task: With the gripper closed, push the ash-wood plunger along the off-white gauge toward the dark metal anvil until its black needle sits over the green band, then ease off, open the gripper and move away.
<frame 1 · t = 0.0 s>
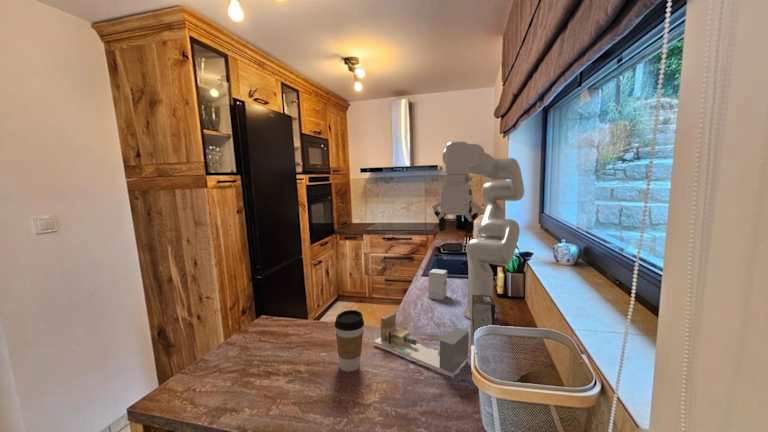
hand: (455, 231, 101), 37 cm above the worktop, tool pointing down, fingers open, 9 cm apart
plunger: (399, 331, 97), point 5 cm above the worktop, slide at 0.0 cm
coffee box: (481, 348, 98), on the worktop
supplement box: (437, 297, 145), on the worktop
coffee cup: (349, 366, 88), on the worktop
gauge: (418, 353, 94), on the worktop
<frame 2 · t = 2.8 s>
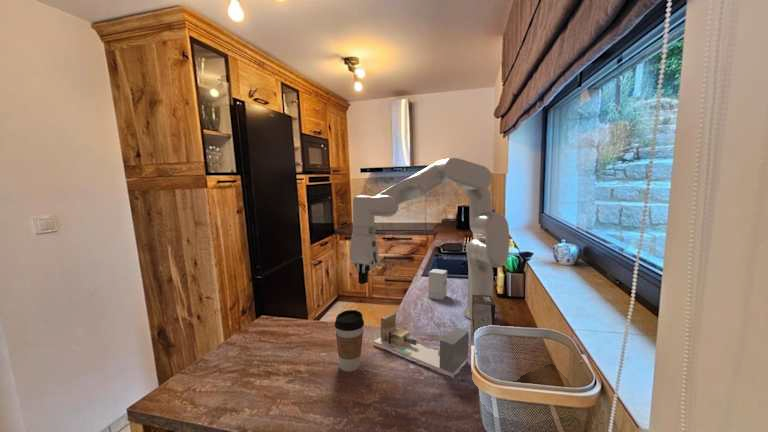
hand: (363, 282, 107), 18 cm above the worktop, tool pointing down, fingers closed
nothing on the worktop moved.
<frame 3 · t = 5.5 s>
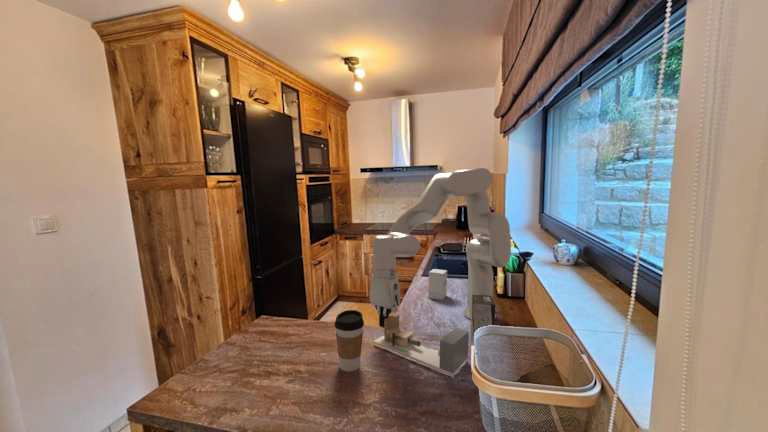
hand: (384, 325, 102), 5 cm above the worktop, tool pointing down, fingers closed
plunger: (403, 332, 97), point 5 cm above the worktop, slide at 1.5 cm, touching gripper
everything else where it was.
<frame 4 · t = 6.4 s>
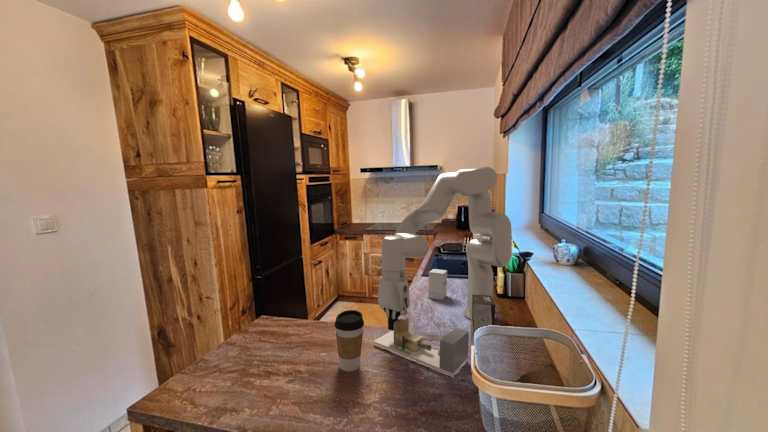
hand: (392, 328, 100), 5 cm above the worktop, tool pointing down, fingers closed
plunger: (413, 336, 94), point 5 cm above the worktop, slide at 5.3 cm, touching gripper
everything else where it was.
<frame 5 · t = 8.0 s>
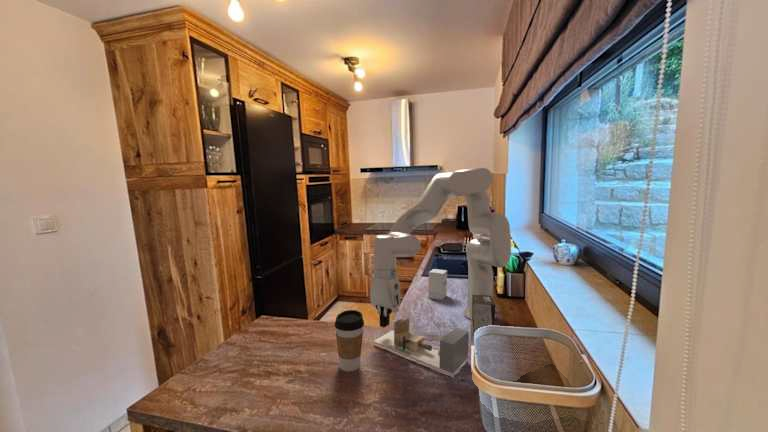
hand: (384, 325, 102), 5 cm above the worktop, tool pointing down, fingers closed
plunger: (413, 336, 94), point 5 cm above the worktop, slide at 5.4 cm
everything else where it was.
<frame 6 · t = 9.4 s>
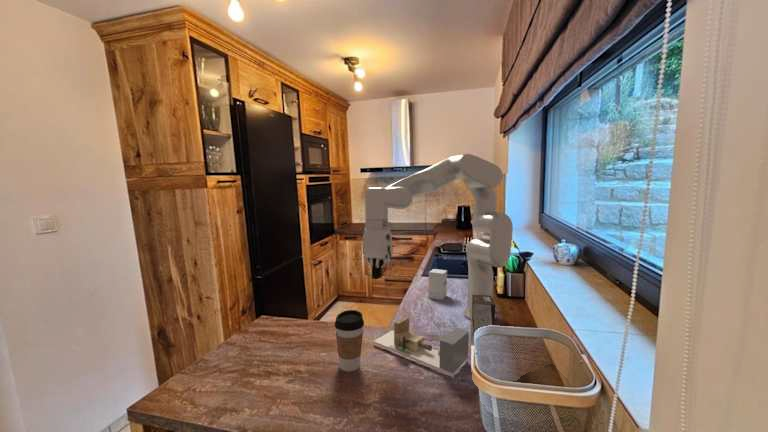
hand: (376, 277, 103), 21 cm above the worktop, tool pointing down, fingers closed
nothing on the worktop moved.
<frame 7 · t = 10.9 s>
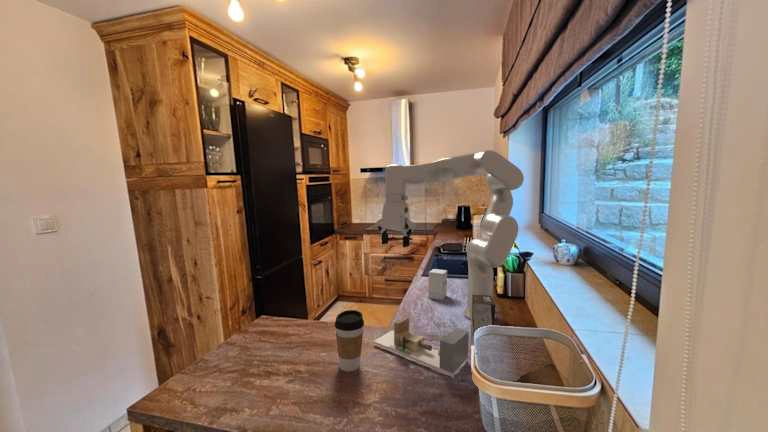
hand: (395, 245, 112), 30 cm above the worktop, tool pointing down, fingers open, 9 cm apart
nothing on the worktop moved.
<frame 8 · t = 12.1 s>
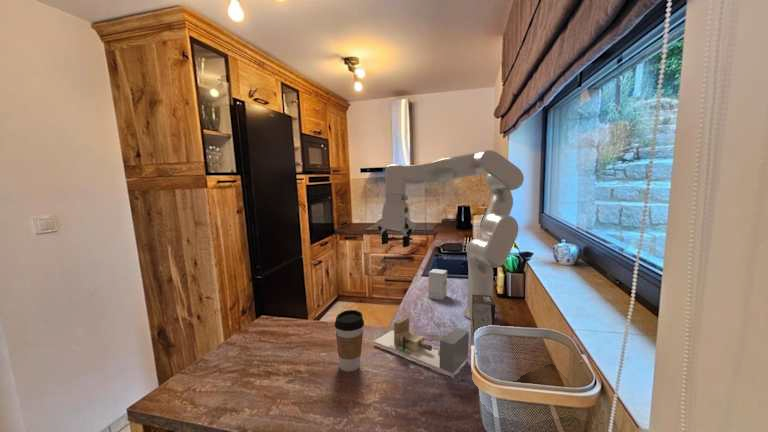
hand: (395, 245, 112), 30 cm above the worktop, tool pointing down, fingers open, 9 cm apart
nothing on the worktop moved.
at the end: plunger slide at 5.4 cm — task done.
